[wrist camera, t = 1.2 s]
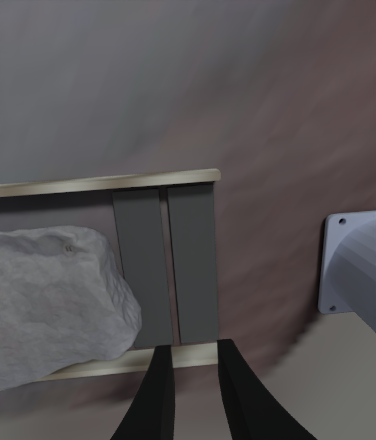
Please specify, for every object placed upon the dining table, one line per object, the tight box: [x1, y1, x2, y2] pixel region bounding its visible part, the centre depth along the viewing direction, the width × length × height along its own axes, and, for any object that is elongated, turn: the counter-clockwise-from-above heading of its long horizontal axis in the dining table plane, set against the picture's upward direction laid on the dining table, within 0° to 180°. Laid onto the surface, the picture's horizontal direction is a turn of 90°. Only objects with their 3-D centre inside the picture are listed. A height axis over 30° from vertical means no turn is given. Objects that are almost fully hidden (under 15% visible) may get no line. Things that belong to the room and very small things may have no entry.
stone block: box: [0, 225, 142, 391], centre depth 19 cm, size 12×5×10 cm
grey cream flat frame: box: [0, 168, 221, 382], centre depth 19 cm, size 24×14×2 cm, turn 94°
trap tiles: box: [112, 184, 219, 348], centre depth 20 cm, size 7×12×1 cm, turn 4°
